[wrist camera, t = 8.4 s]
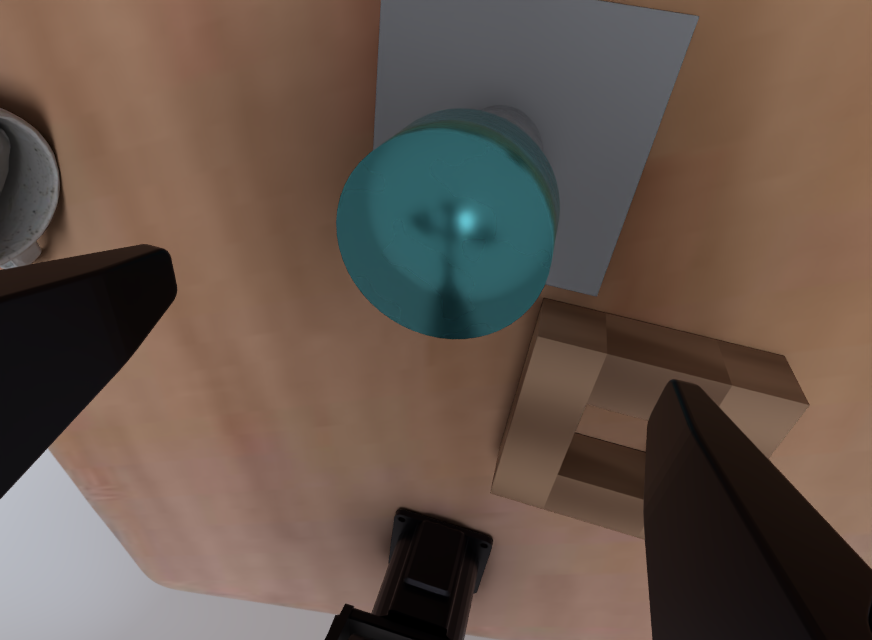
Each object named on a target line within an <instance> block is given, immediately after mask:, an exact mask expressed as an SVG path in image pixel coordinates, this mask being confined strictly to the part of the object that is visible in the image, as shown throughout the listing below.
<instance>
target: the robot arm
mask: <svg viewBox="0 0 872 640" xmlns="http://www.w3.org/2000/svg"><path fill="white" fill-rule="evenodd" d="M176 294H177V284H176V279H175V274H174V269H173V264H172V259H171V256H170V254H169V252H168V251H167V250H165V249H163V248H160V247H156V246H152V245H148V244H141V245H136V246H130V247H124V248H119V249H113V250H108V251H102V252H97V253H91V254H86V255H80V256H75V257H69V258H64V259H58V260H52V261H47V262H41V263H36V264H30V265H25V266H19V267H14V268H8V269H3V270H0V499H1V498H2V497H3V496H4V495H5V494H6V493H7V491H8V490H9V489H10V488H11V487H12V486H13V485H14V484H15V483H16V482H17V480H19V479H20V477H21V476H22V475H23V474H24V473H25V472H26V471H27V470H28V469H29V468H30V467H31V465H32V464H33V463H34V462H35V461H36V460H37V459H38V458H39V457H40V456H41V455H42V454H43V453H44V452H45V450H46V449H47V448H48V447H49V446H50V445H51V444H52V443H53V442H54V441H55V440H56V439H57V437H58V436H59V435H60V434H61V433H62V432H63V431H64V430H65V429H66V428H67V427H68V426H69V425H70V423H71V422H72V421H73V420H74V419H75V418H76V417H77V416H78V415H79V414H80V413H81V412H82V410H83V409H84V408H85V407H86V406H87V405H88V404H89V403H90V402H91V401H92V400H93V399H94V398H95V396H96V395H97V394H98V393H99V392H100V391H101V390H102V389H103V388H104V387H105V386H106V385H107V383H108V382H109V381H110V380H111V379H112V378H113V377H114V376H115V375H116V374H117V373H118V372H119V371H120V369H121V368H122V367H123V366H124V365H125V364H126V363H127V361H128V360H129V359H130V358H131V357H132V355H133V354H134V353H135V351H136V350H137V349H138V348H139V346H140V345H141V344H142V342H143V341H144V340H145V338H146V337H147V336H148V334H149V333H150V332H151V330H152V329H153V328H154V326H155V325H156V324H157V322H158V321H159V320H160V318H161V317H162V316H163V314H164V313H165V312H166V310H167V309H168V308H169V306H170V305H171V304H172V302H173V301H174V299H175V297H176ZM643 517H644V534H645V547H646V560H647V573H648V587H649V600H650V613H651V626H652V639H653V640H872V569H871V568H870V567H869V566H868V565H867V564H866V563H865V562H864V560H863V559H862V558H861V557H860V556H859V555H858V554H857V553H856V552H855V551H854V550H853V549H852V548H851V547H850V546H849V544H848V543H847V542H846V541H845V540H844V539H843V538H842V537H841V536H840V535H839V534H838V533H837V532H836V531H835V530H834V529H833V527H832V526H831V525H830V524H829V523H828V522H827V521H826V520H825V519H824V518H823V517H822V516H821V515H820V514H819V513H818V511H817V510H816V509H815V508H814V507H813V506H812V505H811V504H810V503H809V502H808V501H807V500H806V499H805V498H804V497H803V496H802V494H801V493H800V492H799V491H798V490H797V489H796V488H795V487H794V486H793V485H792V484H791V483H790V482H789V481H788V480H787V478H786V477H785V476H784V475H783V474H782V473H781V472H780V471H779V470H778V469H777V468H776V467H775V466H774V465H773V464H772V463H771V461H770V460H769V459H768V458H767V457H766V456H765V455H764V454H763V453H762V452H761V451H760V450H759V449H758V448H757V447H756V445H755V444H754V443H753V442H752V441H751V440H750V439H749V438H748V437H747V436H746V435H745V434H744V433H743V432H742V431H741V430H740V428H739V427H738V426H737V425H736V424H735V423H734V422H733V421H732V420H731V419H730V418H729V417H728V416H727V415H726V414H725V412H724V411H723V410H722V409H721V408H720V407H719V406H718V405H717V404H716V403H715V402H714V401H713V400H712V399H711V398H710V397H709V395H708V394H707V393H706V392H705V391H704V390H703V389H702V388H701V387H700V386H699V385H697V384H694V383H690V382H686V381H682V380H678V379H672V380H670V381H669V382H668V383H667V384H666V386H665V388H664V390H663V391H662V393H661V395H660V397H659V399H658V401H657V403H656V405H655V407H654V409H653V411H652V412H651V415H650V417H649V421H648V426H647V440H646V460H645V479H644V500H643ZM492 544H493V540H492V539H491V538H490V537H488V536H486V535H483V534H480V533H476V532H473V531H470V530H467V529H464V528H460V527H457V526H454V525H451V524H448V523H444V522H441V521H438V520H435V519H432V518H428V517H425V516H422V515H419V514H416V513H413V512H409V511H406V510H402V509H400V510H397V512H396V514H395V517H394V524H393V532H392V539H391V547H390V555H389V566H388V568H387V571H386V574H385V577H384V580H383V582H382V585H381V588H380V591H379V594H378V596H377V599H376V602H375V605H374V608H373V610H372V613H368V612H365V611H362V610H359V609H356V608H354V606H352V605H349V604H345V605H344V607H343V609H342V611H341V613H340V615H335V618H334V620H333V622H332V625H331V627H330V630H329V632H328V634H327V636H326V638H325V640H464V637H465V632H466V627H467V622H468V617H469V612H470V607H471V602H472V597H473V594H474V593H476V592H477V590H478V587H479V584H480V581H481V578H482V575H483V572H484V569H485V567H486V564H487V561H488V558H489V555H490V552H491V549H492Z"/></svg>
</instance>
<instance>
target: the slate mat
mask: <svg viewBox="0 0 872 640" xmlns="http://www.w3.org/2000/svg"><path fill="white" fill-rule="evenodd" d="M698 19H699V16H696V15H690V14H683V13H677V12H670V11H664V10H658V9H651V8H645V7H638V6H632V5H626V4H619V3H613V2H606V1H600V0H381V9H380V29H379V48H378V67H377V86H376V106H375V125H374V144H373V150H375V149H376V148H377V147H379V146H380V145H382V144H383V143H384V142H386V141H387V140H388V139H390V138H391V137H393V136H394V135H395V134H397V133H398V132H399V131H401V130H402V129H404V128H405V127H406V126H408V125H409V124H411V123H412V122H414V121H415V120H417V119H419V118H421V117H423V116H425V115H427V114H431V113H434V112H437V111H441V110H447V109H459V108H467V109H475V110H481V109H483V108H486V107H489V106H494V105H505V106H510V107H514V108H516V109H518V110H520V111H522V112H524V113H525V114H526V115H527V116H529V117H530V119H531V120H532V121H533V122H534V123H535V125H536V126H537V128H538V130H539V133H540V135H541V139H542V145H543V153H544V155H545V156H546V158H547V160H548V162H549V163H550V165H551V167H552V169H553V172H554V175H555V178H556V181H557V185H558V190H559V195H560V217H559V224H558V229H557V235H556V240H555V246H554V251H553V257H552V262H551V267H550V271H549V275H548V278H547V280H546V283H545V284H546V285H550V286H554V287H558V288H563V289H567V290H571V291H575V292H579V293H584V294H588V295H592V296H596V297H597V295H598V292H599V289H600V286H601V284H602V281H603V278H604V275H605V273H606V270H607V267H608V264H609V262H610V259H611V256H612V254H613V251H614V248H615V245H616V243H617V240H618V237H619V234H620V232H621V229H622V226H623V223H624V221H625V218H626V215H627V213H628V210H629V207H630V204H631V202H632V199H633V196H634V193H635V191H636V188H637V185H638V182H639V180H640V177H641V174H642V172H643V169H644V166H645V163H646V161H647V158H648V155H649V152H650V150H651V147H652V144H653V141H654V139H655V136H656V133H657V131H658V128H659V125H660V122H661V120H662V117H663V114H664V111H665V109H666V106H667V103H668V100H669V98H670V95H671V92H672V90H673V87H674V84H675V81H676V79H677V76H678V73H679V70H680V68H681V65H682V62H683V60H684V57H685V54H686V51H687V49H688V46H689V43H690V40H691V38H692V35H693V32H694V29H695V27H696V24H697V21H698Z"/></svg>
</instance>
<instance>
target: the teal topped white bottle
mask: <svg viewBox="0 0 872 640" xmlns="http://www.w3.org/2000/svg"><path fill="white" fill-rule="evenodd" d="M559 217H560V195H559V190H558V185H557V181H556V178H555V175H554V172H553V169H552V167H551V165H550V163H549V162H548V160H547V158H546V156H545V155H544V153H543V145H542V139H541V135H540V133H539V130H538V128H537V126H536V125H535V123H534V122H533V121H532V120H531V119H530V117H529V116H527V115H526V114H525V113H524V112H522V111H520V110H518V109H516V108H514V107H510V106H505V105H494V106H489V107H486V108H483V109H481V110H475V109H467V108H459V109H447V110H441V111H437V112H434V113H431V114H427V115H425V116H423V117H421V118H419V119H417V120H415V121H414V122H412V123H411V124H409V125H408V126H406V127H405V128H404V129H402V130H401V131H399V132H398V133H397V134H395V135H394V136H393V137H391V138H390V139H388V140H387V141H386V142H384V143H383V144H382V145H380V146H379V147H377V148H376V149H375V150H373V151H372V152H371V153H369V154H368V155H367V156H366V157H365V158H364V159H363V160H362V161H361V162H360V163H359V164H358V165H357V167H356V168H355V169H354V170H353V172H352V173H351V175H350V176H349V178H348V180H347V182H346V183H345V186H344V188H343V191H342V193H341V196H340V200H339V204H338V209H337V220H336V226H337V238H338V244H339V249H340V252H341V255H342V259H343V261H344V264H345V266H346V268H347V270H348V273H349V274H350V276H351V278H352V279H353V281H354V283H355V284H356V286H357V287H358V288H359V290H360V291H361V292H362V294H363V295H364V296H365V297H366V298H367V299H368V300H369V301H370V303H371V304H373V305H374V306H375V307H376V308H377V309H378V310H379V311H380V312H382V313H383V314H384V315H386V316H387V317H389V318H390V319H391V320H393V321H395V322H397V323H398V324H400V325H402V326H404V327H406V328H408V329H411V330H413V331H415V332H418V333H422V334H425V335H428V336H433V337H438V338H446V339H468V338H476V337H480V336H484V335H488V334H491V333H494V332H496V331H499V330H501V329H503V328H505V327H507V326H508V325H510V324H512V323H513V322H514V321H516V320H517V319H519V318H520V317H521V316H522V315H523V314H524V313H525V312H526V311H527V310H528V309H530V307H531V306H532V305H533V304H534V302H535V301H536V300H537V298H538V297H539V295H540V293H541V291H542V290H543V288H544V286H545V283H546V280H547V278H548V275H549V271H550V267H551V262H552V257H553V251H554V246H555V240H556V235H557V229H558V224H559Z"/></svg>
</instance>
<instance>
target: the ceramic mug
mask: <svg viewBox="0 0 872 640" xmlns="http://www.w3.org/2000/svg"><path fill="white" fill-rule="evenodd" d="M59 191H60V178H59V170H58V166H57V162H56V159H55V155H54V153H53V151H52V149H51V148H50V146H49V144H48V143H47V141H46V140H45V139H44V138H43V136H42V135H41V134H40V133H39V132H38V131H37V130H36V128H34V127H33V126H32V125H30V124H29V123H27V122H26V121H25V120H23V119H22V118H20V117H18V116H17V115H15V114H13V113H11V112H9V111H7V110H5V109H2V108H0V267H1V268H3V269H8V268H14V267H19V266H25V265H30V264H31V263H32V262H33V261H34V260H35V259H37V258H38V256H39V255H40V254H41V248H40V246H39V244H38V243H37V239H38V238H39V237H40V236H41V235H42V234H43V233H44V231H45V230H46V228H47V227H48V225H49V224H50V222H51V220H52V218H53V215H54V213H55V210H56V207H57V204H58V199H59Z"/></svg>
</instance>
